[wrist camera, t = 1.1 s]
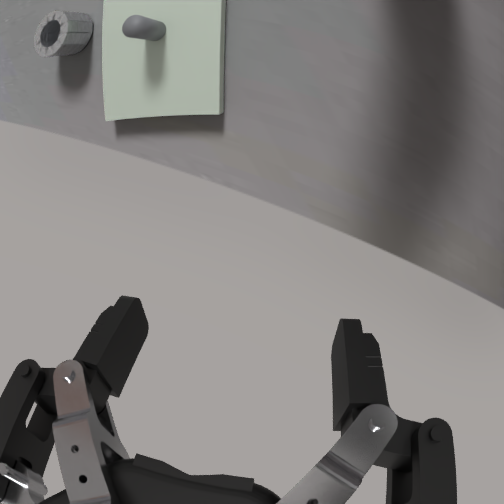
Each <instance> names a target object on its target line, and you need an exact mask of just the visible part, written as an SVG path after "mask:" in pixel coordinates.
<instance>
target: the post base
mask: <svg viewBox="0 0 504 504" xmlns="http://www.w3.org/2000/svg"><path fill="white" fill-rule="evenodd" d="M225 13H226V0H104V7H103V28H102V72H103V95H104V110H105V121H112V120H121V119H131V118H142V117H155V116H173V115H219V114H221V113H223V112H224V47H225Z"/></svg>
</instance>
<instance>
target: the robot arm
mask: <svg viewBox="0 0 504 504" xmlns="http://www.w3.org/2000/svg"><path fill="white" fill-rule="evenodd" d="M147 334H148V321H147V318H146V316H145V313H144V310H143V307H142V304H141V301H140V299H139V298H135V297H128V296H121V297H120V298H119V299H118V301H117V302H116V304H115V305H114V306H110V307H108V308H107V309H106V310H105V311H104V312H103V313H101V315H100V316H99V318H98V319H97V321H96V324H95V325H94V326H93V327H92V329H91V332H89V334H88V335H87V337H86V339H85V340H84V342H83V344H82V345H81V347H80V349H79V350H78V352H77V354H76V356H75V357H74V358H73V360H66V361H64V362H62V363H61V364H59V365H58V366H57V368H40V366H39V365H38V364H37V362H36V361H34V360H32V359H27V360H24V361H22V362H21V363H20V364H19V365H18V366H17V367H16V369H15V371H14V372H13V374H12V376H11V378H10V380H9V382H8V384H7V386H6V388H5V389H4V391H3V393H2V395H1V397H0V504H345V502H346V501H347V500H348V499H349V498H350V497H351V496H352V494H353V493H354V492H355V491H356V489H357V488H358V487H359V485H360V484H361V482H362V478H363V477H364V475H365V474H366V473H367V472H368V470H369V469H370V467H371V466H372V465H376V466H380V467H384V468H387V492H386V493H387V494H386V504H457V487H456V486H457V485H456V468H455V467H456V466H455V454H454V445H453V436H452V430H451V428H450V426H449V425H448V423H447V422H446V421H444V420H442V419H440V418H431V419H428V420H427V421H425V422H424V423H418V422H414V421H410V420H406V419H403V418H401V417H399V416H397V415H396V414H395V413H394V411H393V410H392V409H391V408H390V406H389V403H388V397H387V391H386V383H385V377H384V371H383V368H382V359H381V354H380V348H379V344H378V342H377V341H376V339H375V338H374V336H373V335H372V333H363V332H362V325H361V321H360V320H359V319H340V321H339V324H338V328H337V331H336V335H335V338H334V342H333V345H332V354H331V361H332V388H333V431H341V438H340V439H339V440H338V441H337V443H336V444H335V445H334V446H333V447H332V448H331V450H330V451H329V452H328V453H327V454H326V455H325V456H324V457H323V458H322V459H321V460H320V461H319V462H318V463H317V464H316V465H315V466H314V467H313V468H312V469H311V471H310V472H309V473H308V474H307V475H306V476H305V477H304V478H303V479H302V480H301V481H300V482H299V483H298V484H297V485H296V486H295V487H294V488H293V489H292V490H291V491H289V492H288V493H287V494H286V495H285V496H284V497H283V498H282V499H281V498H280V497H279V496H277V495H276V494H275V493H274V492H272V491H270V490H268V489H267V488H265V487H263V486H261V485H258V484H255V483H254V479H253V478H245V477H237V476H230V475H223V474H222V475H188V474H186V473H184V472H182V471H180V470H178V469H176V468H174V467H172V466H171V465H169V464H167V463H165V462H163V461H160V460H156V459H153V458H150V457H146V456H143V455H140V454H136V456H135V459H130V458H129V456H128V453H127V452H126V449H125V448H124V446H123V445H122V443H121V441H120V439H119V436H118V433H117V430H116V427H115V424H114V420H113V417H112V413H111V410H110V406H109V403H108V401H107V400H108V397H109V395H112V396H115V397H119V396H120V394H121V392H122V389H123V387H124V384H125V383H126V380H127V378H128V376H129V374H130V372H131V369H132V367H133V365H134V363H135V361H136V358H137V356H138V354H139V352H140V350H141V348H142V346H143V343H144V341H145V339H146V337H147ZM34 402H36V404H37V406H36V408H35V411H34V413H33V415H32V418H31V420H30V422H29V424H28V427H27V428H26V419H27V417H28V415H29V412H30V410H31V408H32V406H33V403H34ZM54 442H55V445H56V450H57V455H58V460H59V464H60V469H61V473H62V476H63V480H64V484H65V487H66V489H65V490H63V491H61V492H59V493H57V494H55V495H53V496H51V497H49V498H47V499H46V500H44V495H46V494H47V487H46V486H45V485H44V482H43V479H42V477H43V474H44V471H45V468H46V465H47V462H48V459H49V456H50V453H51V451H52V448H53V445H54Z"/></svg>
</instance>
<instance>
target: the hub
mask: <svg viewBox="0 0 504 504" xmlns="http://www.w3.org/2000/svg"><path fill="white" fill-rule="evenodd" d="M92 30H93V23H92V20H91V18H90V17H89V15H87V14H84V13H79V12H70V11H59V10H55V11H53V12H51V13H49V14H47V15H46V16H45V17H44V18H43V20H42V21H41V22H40V23H39V25H38V27H37V30H36V33H35V36H34V47H35V49H36V51H37V53H38V55H40V56H43V57H53V56H64V55H72V54H75V53H79V52H80V51H81V50H82V49H83V48H84V47H85V46H86V45H87V44H88V42H89V40H90V37H91V35H92Z"/></svg>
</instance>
